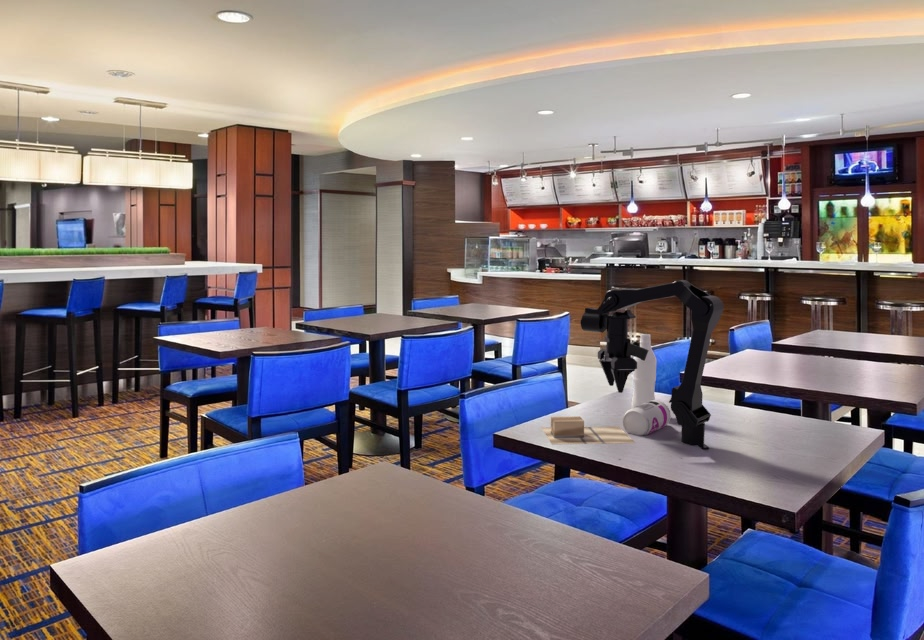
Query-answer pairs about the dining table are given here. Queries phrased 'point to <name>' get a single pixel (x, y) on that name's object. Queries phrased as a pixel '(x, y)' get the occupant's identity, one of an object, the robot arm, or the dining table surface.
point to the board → (593, 436)
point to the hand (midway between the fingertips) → (615, 389)
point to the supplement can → (646, 418)
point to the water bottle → (644, 374)
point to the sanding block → (567, 427)
